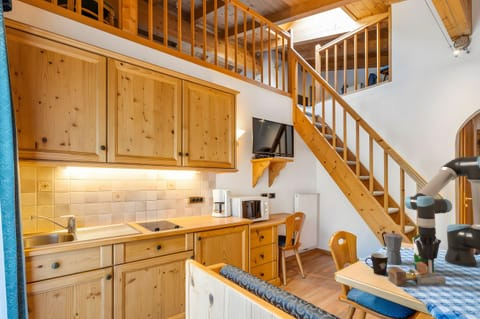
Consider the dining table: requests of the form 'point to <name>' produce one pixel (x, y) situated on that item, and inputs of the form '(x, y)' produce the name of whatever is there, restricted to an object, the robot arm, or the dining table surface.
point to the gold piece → (420, 268)
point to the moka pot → (393, 247)
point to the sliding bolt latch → (428, 279)
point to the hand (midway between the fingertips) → (429, 272)
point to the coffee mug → (378, 263)
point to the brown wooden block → (397, 276)
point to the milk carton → (416, 254)
